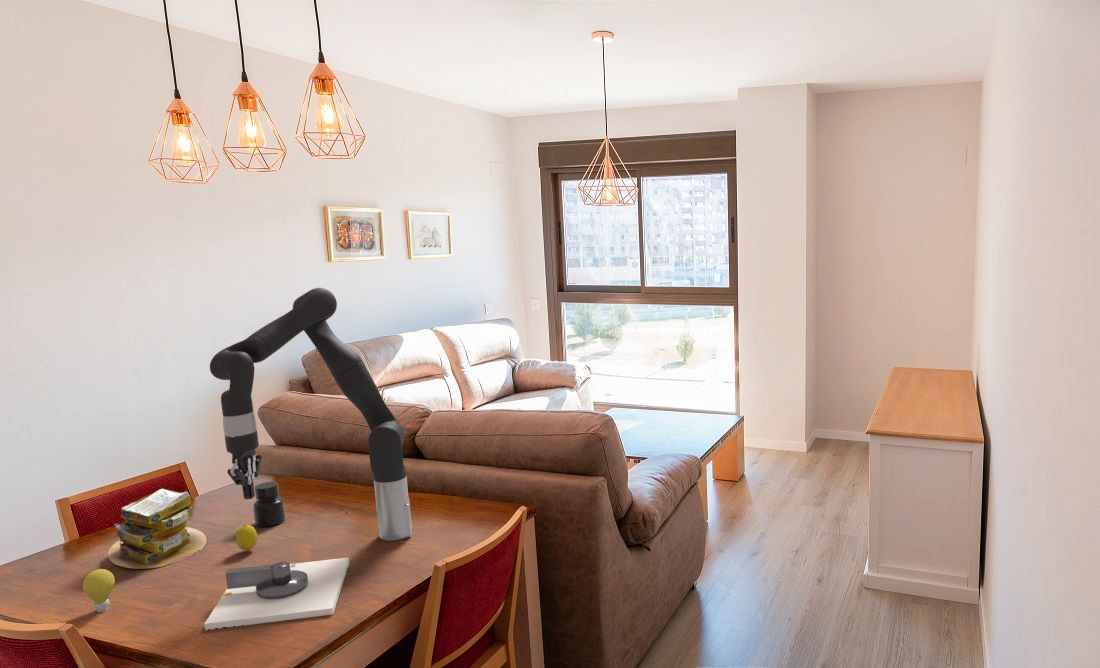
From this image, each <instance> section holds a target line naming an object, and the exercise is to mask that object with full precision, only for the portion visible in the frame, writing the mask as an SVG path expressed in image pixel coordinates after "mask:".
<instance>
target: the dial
mask: <svg viewBox="0 0 1100 668" xmlns="http://www.w3.org/2000/svg"><path fill="white" fill-rule="evenodd" d="M290 564H291V563H290V562H288V561H281V562H277V563H274V564H272V563H271V564H264V565H255V566H254V565H253V566H246V567H236V568H229V569H228V570H226V572H225V577H226V578H225V579H226V586H227V588H226V590H227V589H234V588H243V587H253V586H256V592H257V595H258V596H259V597H261V598H265V599H277V598H283V597H287V596H291V595H293V594H296V593H298V592H300V591H301V590H303V589H304V588H305V587H306V586H307V585H308V576H307V574H306V573H305V572H303V571H298V570H290Z"/></svg>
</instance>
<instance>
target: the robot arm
mask: <svg viewBox="0 0 1100 668" xmlns="http://www.w3.org/2000/svg"><path fill="white" fill-rule="evenodd" d="M337 307H338V302H337V299H336V296H335V294H334V293H333V292H331V290H329V289H327V288H325V287H316V288H312V289H309V290H308V291H307V292H304V293H303V294H302V295H300V296H298V297H297V298H296V299H295V300H294V301H293V303H292V309H291V310H289V311H288V312H286V313H285V314H283V315H281V316H279V317H278V318H276V319H274V320H272V321H271V322H269V323H268V324H265V325H264V326H262V327H260V329H258V330H256V331H255V332H253V333H252V334H251V335H249V336H248V337H246V338H245V339H243V340H241V341H238V342H236V343H234V344H232V345H230V346H227V347H225V348H223V349H221V350H220V351H218V352H217V353H216V354H214V356H212V358H211V360H210V362H209V372H210V373H211V375H213V377H214V378H216V379H218V380H222V381H229V386H228V387H229V388H228V389H227V390H225V391H223V392H222V394H221V395H220V405H221V411H222V427H223V434H224V441H225V448H226V452H227V453H229V454H231V456H232V458H231V463H232V466H231V468H228V469H227V474H228V476H229V477H230V478H231V480H232V481H233V482H234V484H235V485H236V486H239V485H240V486H241V487H242V488H241V489H242V493H243V494H242V495H243V499H244V500H252V499H254V497H256V494H255V485H254V483H255V481H256V478H258V477H259V473H260V468H261V462H262V458H263V457H262V455H261V454H257V452H256V449H258V447H259V445H260V442H259V436H258V428H257V427H258V426H257V421H256V417H255V412H254V406H253V398H252V394H253V393H252V392H253V387H254V378H255V364H257V363H261V362H263V361H264V360H267V359H268V358H269V357H271V356H272V355H274V354H275V353H276V352H277V351H279V350H280V349H282V347H283V346H285V345H287V344H288V343H289V342H290V341H292V340H293V339H294V338H295V337H296V336H298V335H299V334H300V333H302V332H303V331H304V333H305V335H307V337H308V338H309V340H310V341H311V342H312V344H313V346H315V347H314V348H316V350H317V352H318V353H319V355H320V357H321V358H322V360H323V362H324V363H325V365H326V366H327V368H328V370H329V373H330V374H331V377H333V378H332V379H334V381H335V382H336V384H337V386H338V388H339V389H340V391H341V393H342V394H343V395H344V396H345V398H346V399H348V401H349V402H350V403H352V405H353V406H355V407H356V408H357V409H358V410H359V412H360V413H361V414H362V417H363V418H364V420H365V422H366V424H367V426H368V429H369V430H370V433H369V435H368V439H367V441H368V442H367V443H368V444H367V446H368V456H369V463H370V470H371V473H372V475H373V487H374V496H375V497H374V498H375V506H376V517H377V527H378V538H379V539H380V540H382V541H386V542H387V541H388V542H391V541H392V542H394V541H399V540H403V539H406V538H409V537H410V538H411V537H412V532H413V524H412V514H411V502H410V498H409V492H408V491H409V489H408V477H407V468H406V466H405V463H404V457H403V447H402V446H403V443H404V441H405V431H404V428H403V427H402V425H401V424H400V422H399V421H398V420H397V418H396V416H395V415H394V414H393V413H392V410H390V408H389V407H388V405H387V404H386V402H385V400H384V398H383V397H382V395H381V393H380V391H379V389H378V387H377V384H376V383H375V381H374V379H373V377H372V376H371V374H370V372H369V369H368V368H367V366H366V364H365V363H364V361H363V359H362V357H361V356H360V355H359V354H358V353H357V352H356V351H355V350H354V349H352V347H350V346H349V345H347V344H346V343H344V342H343V341H342V340H340V338H338V337H337V336H336V335H335V333H334V332H333V330H332V328H331V326H329V324H328V322H327V320H328V319H331V317H333V316H334V314H335V313H336V311H337Z"/></svg>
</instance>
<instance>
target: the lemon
mask: <svg viewBox="0 0 1100 668" xmlns="http://www.w3.org/2000/svg"><path fill="white" fill-rule="evenodd" d="M235 540H236V541H235V542H236V546H238V547H239V549H240V550H243V551H246V552H247V551H248V552H250V551H251V550H252V549H253V548H255V547H256V544H257V543H258V533H257V530H256V529H255V527H254V526H253V525H251V524H247V523H244V524H243V525H242V526H240V527H239V528H238V530H237V531H236V537H235Z"/></svg>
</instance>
